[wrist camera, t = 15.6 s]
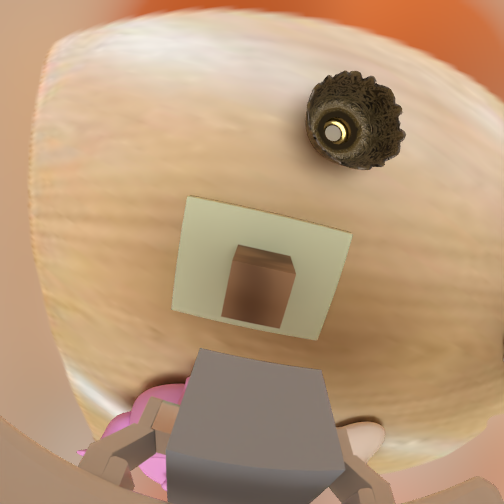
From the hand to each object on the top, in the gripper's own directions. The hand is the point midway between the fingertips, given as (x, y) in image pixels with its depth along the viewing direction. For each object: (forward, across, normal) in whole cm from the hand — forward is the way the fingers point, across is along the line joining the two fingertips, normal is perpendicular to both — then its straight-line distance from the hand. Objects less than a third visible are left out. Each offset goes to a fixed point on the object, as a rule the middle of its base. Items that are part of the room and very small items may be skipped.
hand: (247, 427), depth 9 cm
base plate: (+19, 0, 0) cm, 19 cm away
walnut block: (+18, 0, 0) cm, 18 cm away
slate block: (+2, 0, 0) cm, 2 cm away
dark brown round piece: (+19, -4, -15) cm, 25 cm away
